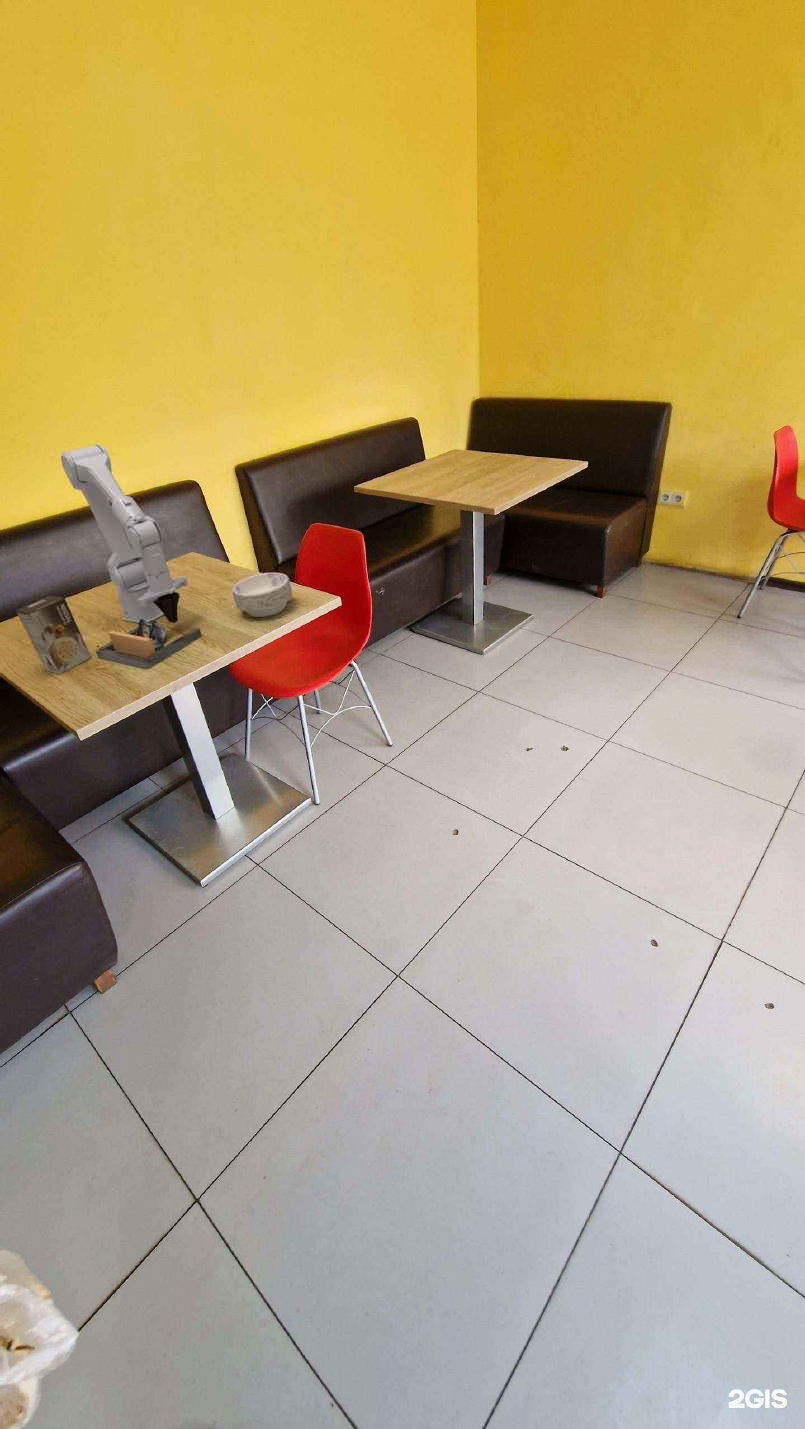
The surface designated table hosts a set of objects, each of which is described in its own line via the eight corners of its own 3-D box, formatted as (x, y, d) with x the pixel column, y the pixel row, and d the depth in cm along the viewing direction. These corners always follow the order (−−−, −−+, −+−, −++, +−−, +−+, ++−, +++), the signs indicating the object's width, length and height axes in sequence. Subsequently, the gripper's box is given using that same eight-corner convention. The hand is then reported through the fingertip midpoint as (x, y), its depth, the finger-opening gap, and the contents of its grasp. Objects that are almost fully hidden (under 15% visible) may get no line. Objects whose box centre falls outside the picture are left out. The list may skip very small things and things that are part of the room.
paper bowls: (227, 615, 170) (219, 587, 165) (270, 594, 179) (264, 568, 174) (262, 627, 161) (255, 598, 156) (306, 605, 170) (300, 577, 165)
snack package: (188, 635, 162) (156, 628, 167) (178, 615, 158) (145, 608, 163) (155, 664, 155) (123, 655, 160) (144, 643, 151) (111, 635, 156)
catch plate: (115, 650, 157) (108, 632, 155) (119, 648, 158) (112, 630, 155) (153, 659, 151) (146, 641, 148) (157, 657, 152) (150, 638, 149)
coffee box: (77, 653, 159) (50, 594, 150) (92, 657, 156) (66, 597, 147) (44, 670, 153) (14, 609, 144) (59, 675, 150) (30, 613, 141)
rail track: (98, 657, 156) (95, 650, 155) (153, 626, 168) (151, 619, 167) (147, 669, 147) (144, 662, 146) (202, 635, 160) (199, 628, 159)
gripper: (144, 584, 148) (162, 635, 156) (189, 562, 158) (204, 611, 166) (124, 580, 151) (143, 631, 159) (170, 559, 161) (185, 608, 169)
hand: (173, 621), depth 162 cm, fingers closed
